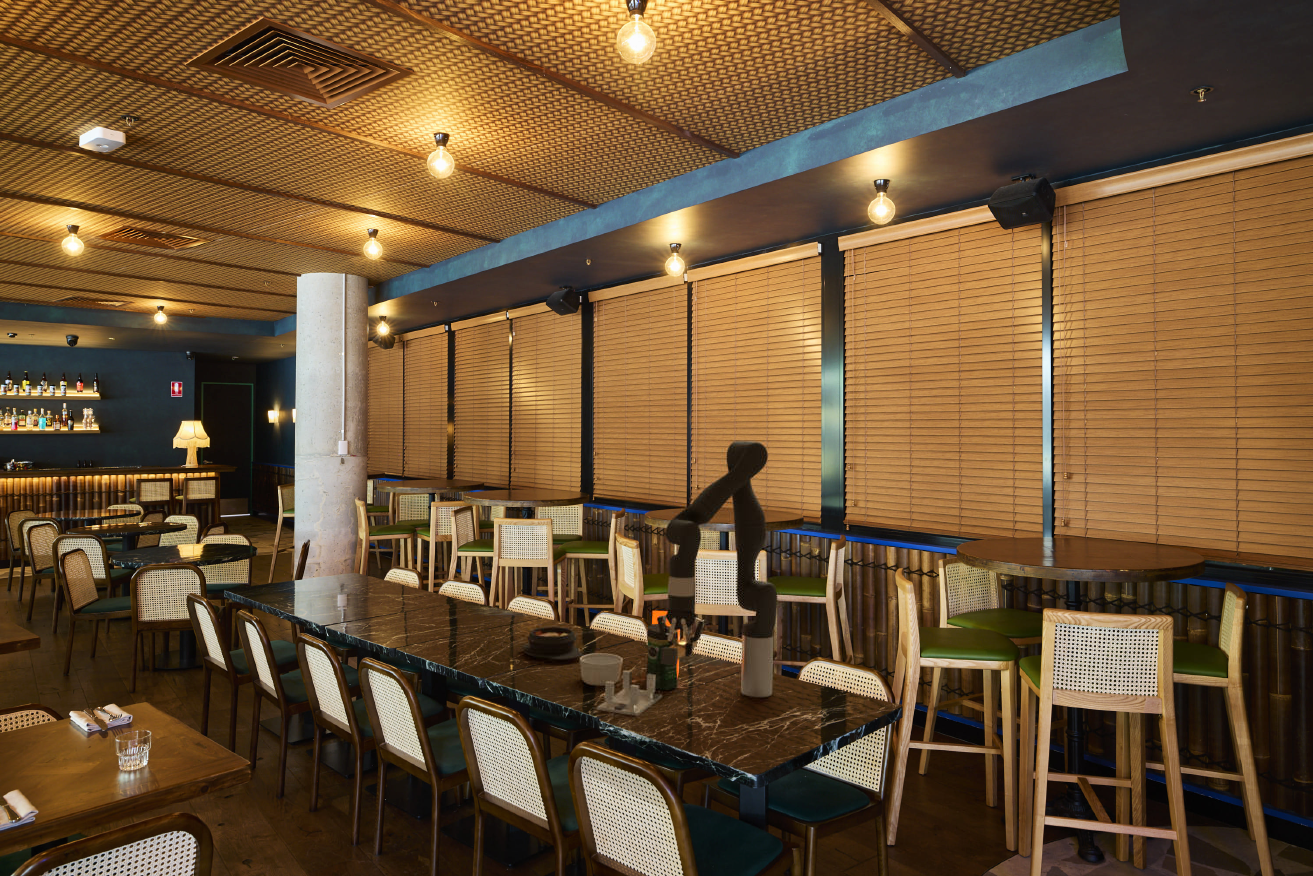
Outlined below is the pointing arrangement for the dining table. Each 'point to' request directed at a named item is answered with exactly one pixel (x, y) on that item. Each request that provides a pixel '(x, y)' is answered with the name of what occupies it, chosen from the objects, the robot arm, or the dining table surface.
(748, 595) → the robot arm
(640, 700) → the white holder rack
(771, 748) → the dining table surface
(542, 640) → the casserole
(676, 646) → the tube
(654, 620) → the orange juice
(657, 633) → the coffee jar
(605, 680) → the ramekin
